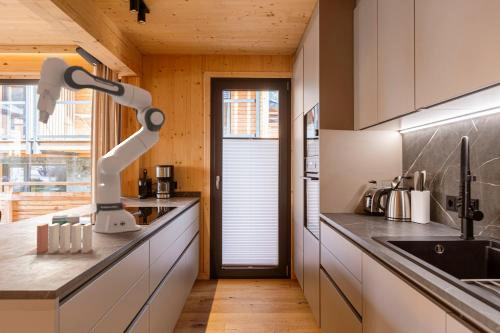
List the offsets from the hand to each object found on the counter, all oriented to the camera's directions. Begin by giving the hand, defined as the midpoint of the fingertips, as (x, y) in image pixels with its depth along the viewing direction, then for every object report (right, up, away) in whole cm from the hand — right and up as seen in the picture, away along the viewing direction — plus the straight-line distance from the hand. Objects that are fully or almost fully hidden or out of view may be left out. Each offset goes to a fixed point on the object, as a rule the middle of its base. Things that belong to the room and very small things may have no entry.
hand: (43, 122), depth 146 cm
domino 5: (+30, -52, -21) cm, 64 cm away
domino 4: (+26, -52, -22) cm, 62 cm away
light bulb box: (+10, -53, 0) cm, 53 cm away
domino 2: (+18, -52, -23) cm, 59 cm away
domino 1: (+14, -51, -23) cm, 58 cm away
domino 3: (+22, -52, -22) cm, 60 cm away
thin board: (+22, -53, -22) cm, 61 cm away
